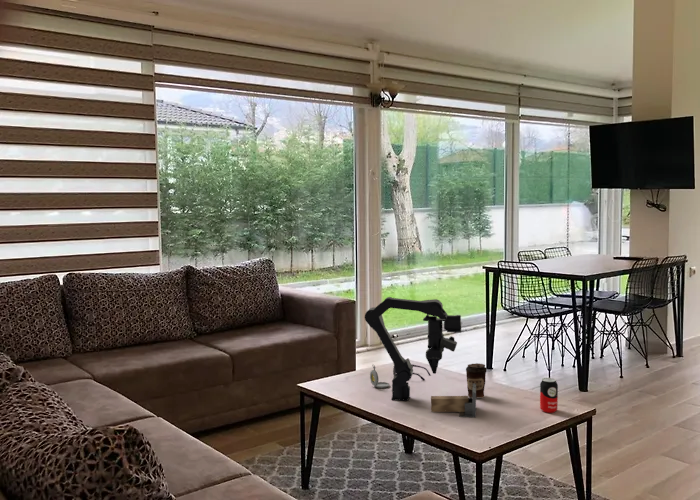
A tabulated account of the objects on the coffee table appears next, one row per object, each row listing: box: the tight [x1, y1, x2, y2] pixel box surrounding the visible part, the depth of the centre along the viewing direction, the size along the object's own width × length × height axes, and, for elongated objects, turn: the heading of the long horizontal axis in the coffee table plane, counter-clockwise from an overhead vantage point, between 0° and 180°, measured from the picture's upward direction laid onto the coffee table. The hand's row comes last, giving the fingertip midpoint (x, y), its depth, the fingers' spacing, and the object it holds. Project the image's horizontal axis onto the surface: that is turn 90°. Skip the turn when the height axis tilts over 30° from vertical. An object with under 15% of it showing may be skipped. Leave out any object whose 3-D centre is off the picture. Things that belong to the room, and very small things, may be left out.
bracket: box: [458, 383, 477, 418], centre depth 256 cm, size 6×12×9 cm, turn 169°
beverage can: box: [539, 377, 559, 414], centre depth 256 cm, size 6×6×12 cm
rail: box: [430, 395, 469, 413], centre depth 258 cm, size 14×4×5 cm, turn 82°
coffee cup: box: [465, 362, 488, 399], centre depth 275 cm, size 9×8×13 cm
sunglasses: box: [392, 363, 432, 381], centre depth 307 cm, size 14×16×5 cm
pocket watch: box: [369, 364, 390, 389], centre depth 291 cm, size 8×8×10 cm
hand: (435, 370), depth 271 cm, fingers open, 9 cm apart
